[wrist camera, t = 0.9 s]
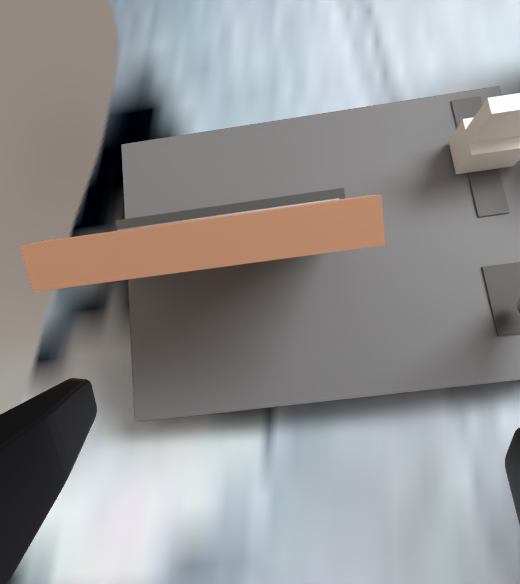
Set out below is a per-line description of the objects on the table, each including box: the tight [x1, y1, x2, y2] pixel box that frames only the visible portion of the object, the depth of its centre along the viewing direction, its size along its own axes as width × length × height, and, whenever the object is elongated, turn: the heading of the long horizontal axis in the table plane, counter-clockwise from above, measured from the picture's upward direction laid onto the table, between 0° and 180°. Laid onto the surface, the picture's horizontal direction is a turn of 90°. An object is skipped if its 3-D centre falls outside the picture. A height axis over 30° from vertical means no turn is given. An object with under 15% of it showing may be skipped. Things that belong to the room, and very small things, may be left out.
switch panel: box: [116, 86, 520, 422], centre depth 23 cm, size 16×22×3 cm
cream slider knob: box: [448, 93, 520, 174], centre depth 20 cm, size 2×3×4 cm, turn 96°
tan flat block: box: [20, 195, 385, 292], centre depth 18 cm, size 2×12×9 cm, turn 96°
